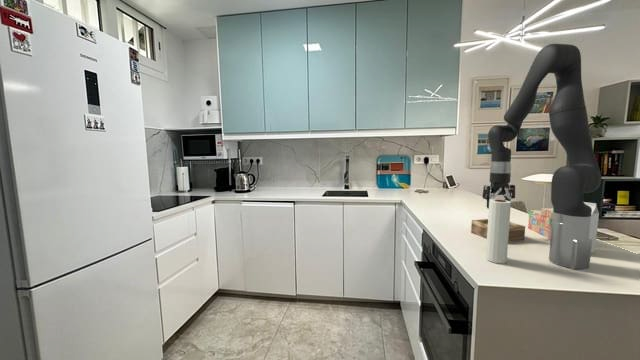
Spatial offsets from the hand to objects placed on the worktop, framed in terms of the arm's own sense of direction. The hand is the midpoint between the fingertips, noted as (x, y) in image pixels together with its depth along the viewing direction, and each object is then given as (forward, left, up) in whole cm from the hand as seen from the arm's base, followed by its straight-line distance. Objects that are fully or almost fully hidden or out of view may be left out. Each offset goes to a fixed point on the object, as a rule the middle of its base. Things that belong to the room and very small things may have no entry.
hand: (498, 208), depth 117 cm
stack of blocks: (-3, -24, -13) cm, 28 cm away
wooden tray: (0, 0, -13) cm, 13 cm away
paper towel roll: (-22, +21, -13) cm, 33 cm away
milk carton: (-21, -16, -13) cm, 29 cm away
